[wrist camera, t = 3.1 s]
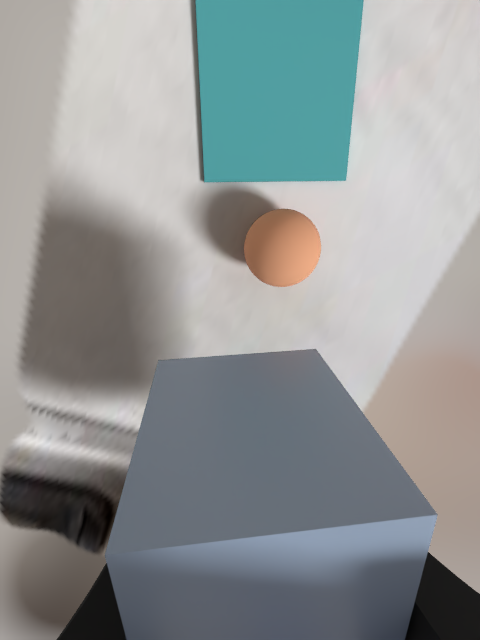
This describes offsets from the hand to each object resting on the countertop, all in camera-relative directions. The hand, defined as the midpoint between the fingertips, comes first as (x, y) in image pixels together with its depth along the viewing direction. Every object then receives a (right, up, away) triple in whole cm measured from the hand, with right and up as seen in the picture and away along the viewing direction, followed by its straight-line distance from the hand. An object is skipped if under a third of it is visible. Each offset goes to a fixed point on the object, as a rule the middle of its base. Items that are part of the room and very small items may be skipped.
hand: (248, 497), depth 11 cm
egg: (+2, +10, +4) cm, 11 cm away
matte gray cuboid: (0, +1, +2) cm, 2 cm away
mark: (+1, +16, +3) cm, 17 cm away
